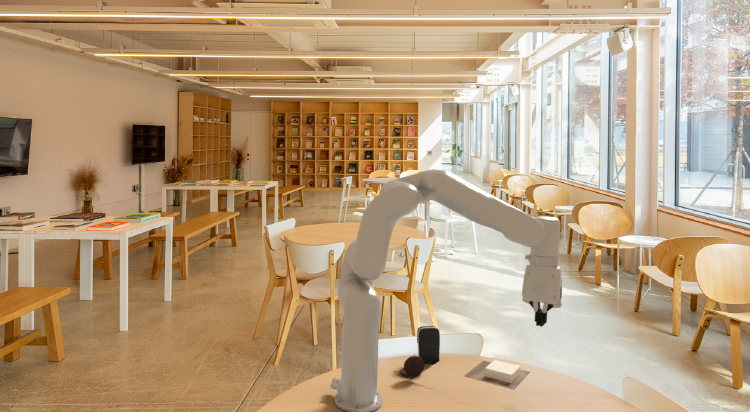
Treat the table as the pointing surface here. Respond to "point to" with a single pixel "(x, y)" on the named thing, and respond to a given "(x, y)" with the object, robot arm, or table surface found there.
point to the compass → (412, 367)
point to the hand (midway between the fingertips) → (540, 324)
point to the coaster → (502, 371)
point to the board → (479, 374)
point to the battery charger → (428, 344)
